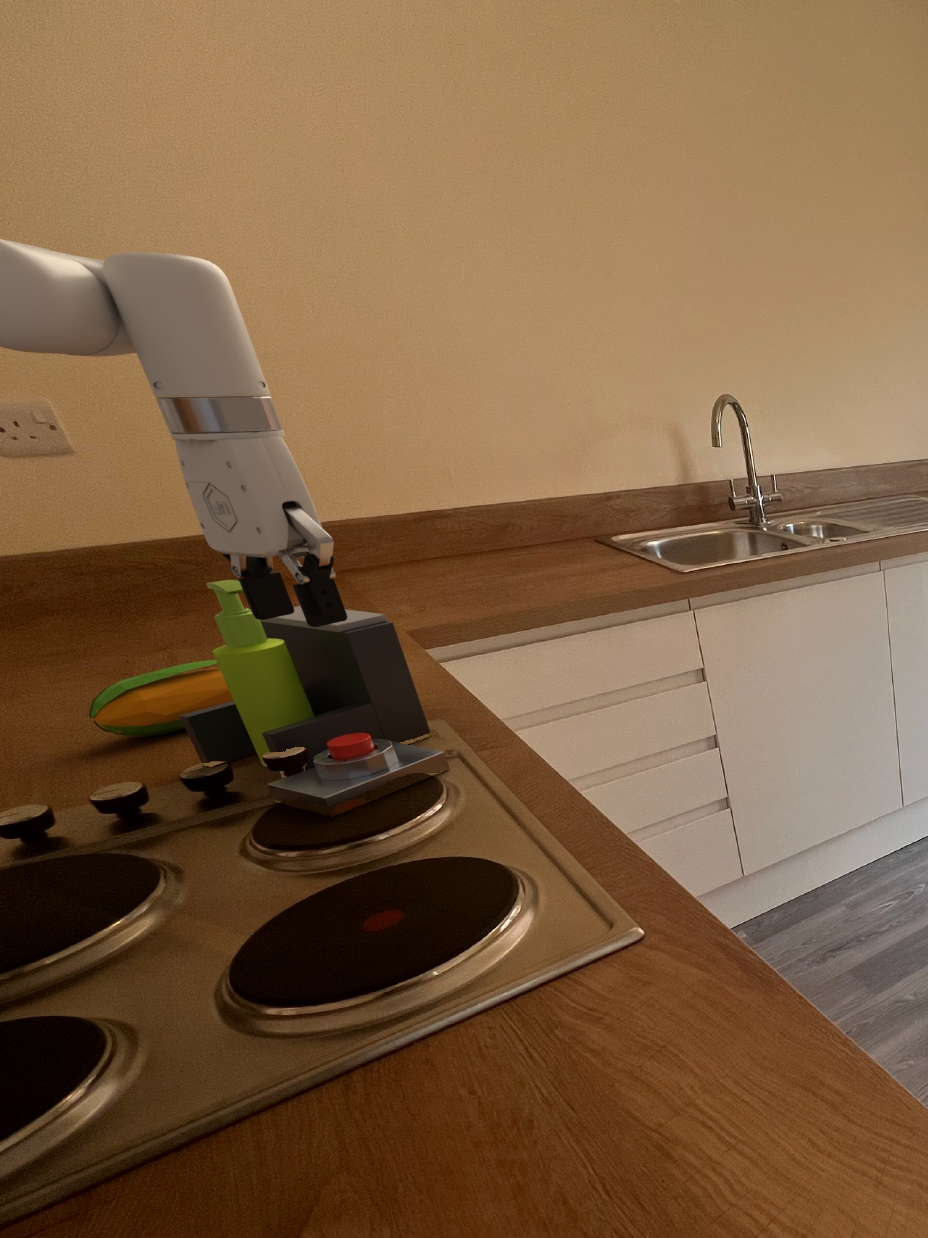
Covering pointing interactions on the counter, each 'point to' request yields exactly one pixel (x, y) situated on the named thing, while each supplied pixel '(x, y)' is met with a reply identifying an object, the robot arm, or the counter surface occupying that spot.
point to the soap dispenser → (256, 669)
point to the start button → (350, 746)
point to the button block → (357, 773)
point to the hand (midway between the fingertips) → (301, 618)
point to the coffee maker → (326, 690)
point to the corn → (158, 700)
